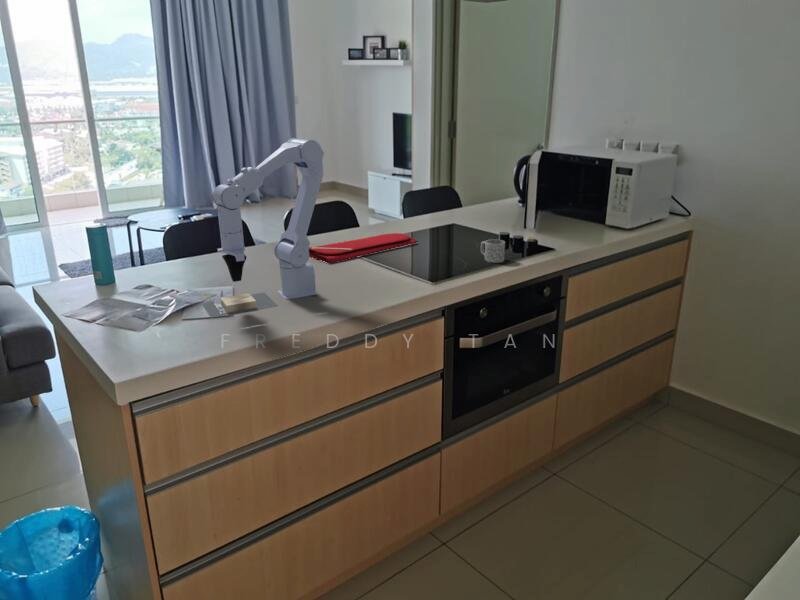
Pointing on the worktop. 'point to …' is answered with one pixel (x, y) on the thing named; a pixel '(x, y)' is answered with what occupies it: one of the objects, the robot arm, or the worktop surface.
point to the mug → (493, 250)
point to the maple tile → (238, 303)
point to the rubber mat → (261, 303)
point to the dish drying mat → (359, 247)
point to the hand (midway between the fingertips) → (236, 280)
